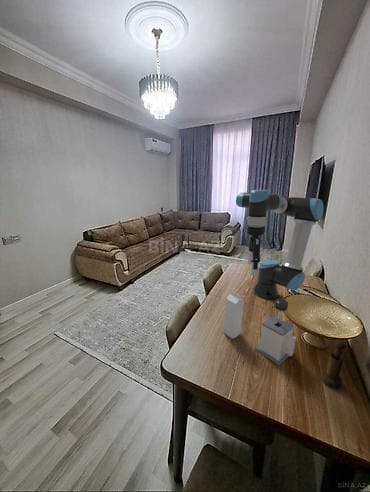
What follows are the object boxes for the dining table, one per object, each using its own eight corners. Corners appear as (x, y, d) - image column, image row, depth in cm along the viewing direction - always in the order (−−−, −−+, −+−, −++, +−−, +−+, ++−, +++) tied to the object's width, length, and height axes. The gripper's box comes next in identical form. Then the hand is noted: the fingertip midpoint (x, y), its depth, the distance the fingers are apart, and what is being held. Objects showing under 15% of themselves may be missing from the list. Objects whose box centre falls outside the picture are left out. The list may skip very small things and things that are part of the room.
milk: (232, 339, 99) (236, 297, 93) (222, 332, 103) (225, 292, 97) (240, 334, 102) (244, 293, 96) (231, 327, 107) (234, 288, 101)
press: (268, 339, 99) (272, 313, 96) (296, 355, 90) (301, 328, 86) (255, 349, 93) (259, 323, 89) (284, 369, 83) (289, 339, 79)
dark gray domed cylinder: (273, 324, 93) (278, 297, 89) (286, 331, 89) (292, 302, 85) (267, 330, 89) (271, 301, 85) (280, 337, 85) (285, 307, 81)
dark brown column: (316, 373, 81) (325, 334, 76) (331, 372, 82) (342, 333, 77) (329, 389, 75) (340, 348, 70) (345, 388, 75) (358, 347, 70)
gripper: (244, 220, 106) (242, 259, 112) (250, 231, 83) (246, 280, 89) (260, 220, 105) (256, 260, 111) (270, 232, 81) (265, 281, 88)
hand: (252, 269), depth 100 cm, fingers open, 13 cm apart
